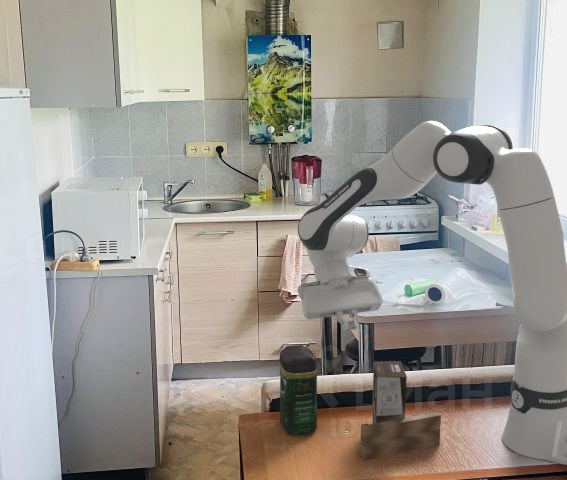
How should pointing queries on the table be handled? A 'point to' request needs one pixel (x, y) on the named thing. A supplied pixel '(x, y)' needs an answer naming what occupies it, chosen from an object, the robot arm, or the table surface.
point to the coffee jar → (298, 390)
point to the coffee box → (388, 391)
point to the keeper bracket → (400, 435)
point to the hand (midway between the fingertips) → (351, 329)
